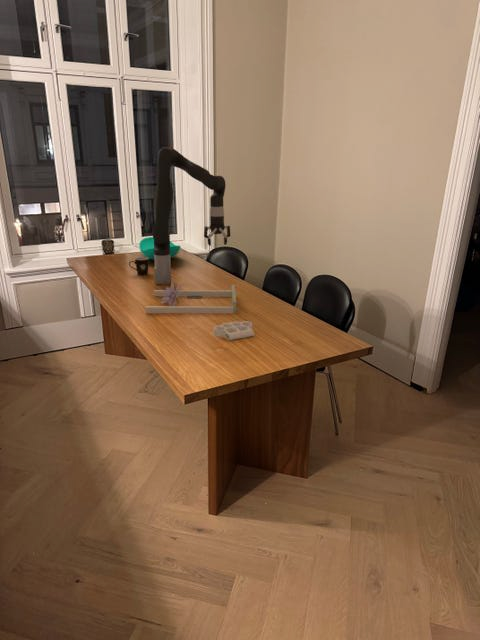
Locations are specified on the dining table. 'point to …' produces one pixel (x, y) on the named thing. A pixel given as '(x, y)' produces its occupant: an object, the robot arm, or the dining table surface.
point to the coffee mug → (141, 265)
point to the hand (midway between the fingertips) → (217, 245)
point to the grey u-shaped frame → (196, 308)
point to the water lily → (170, 294)
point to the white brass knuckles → (234, 330)
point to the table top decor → (148, 248)
